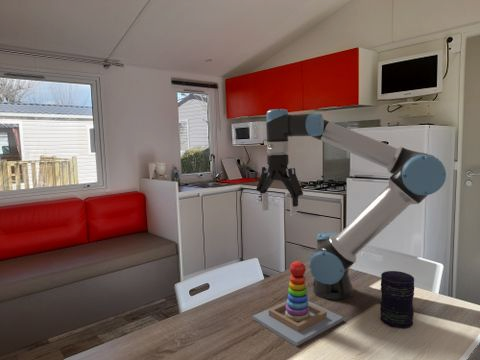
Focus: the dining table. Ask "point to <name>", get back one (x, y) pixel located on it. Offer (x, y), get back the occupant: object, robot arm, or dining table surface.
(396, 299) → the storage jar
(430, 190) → the robot arm
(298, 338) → the baseplate
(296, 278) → the stacking toy
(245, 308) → the dining table surface
